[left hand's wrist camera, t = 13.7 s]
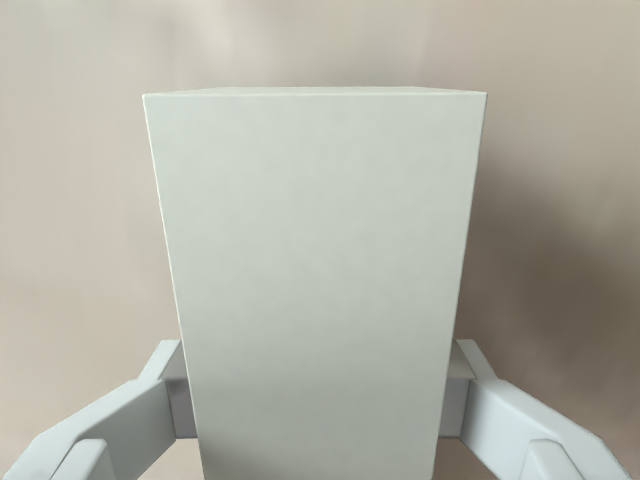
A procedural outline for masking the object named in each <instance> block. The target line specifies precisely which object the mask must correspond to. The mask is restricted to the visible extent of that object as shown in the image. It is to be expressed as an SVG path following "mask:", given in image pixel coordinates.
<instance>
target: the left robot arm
mask: <svg viewBox="0 0 640 480" xmlns="http://www.w3.org/2000/svg"><path fill="white" fill-rule="evenodd" d="M185 438H198V436H197V430H196V424H195V418H194V411H193V405H192V399H191V393H190V387H189V381H188V374H187V368H186V362H185V356H184V350H183V344H182V339H164V340H162V341H161V342H160V343H159V345H158V347H157V348H156V350H155V351H154V353H153V355H152V356H151V358H150V359H149V361H148V363H147V364H146V366H145V367H144V369H143V371H142V372H141V374H140V375H139V377H138V379H131V380H130V381H128V382H126V383H125V384H123V385H121V386H120V387H118V388H116V389H115V390H113V391H111V392H110V393H108V394H106V395H105V396H103V397H101V398H100V399H98V400H96V401H95V402H93V403H91V404H90V405H88V406H86V407H85V408H83V409H81V410H80V411H78V412H76V413H75V414H73V415H71V416H70V417H68V418H66V419H65V420H63V421H61V422H60V423H58V424H56V425H55V426H53V427H51V428H50V429H48V430H46V431H45V432H43V433H41V434H40V435H38V436H36V437H35V438H34V439H33V441H32V442H31V443H30V444H29V446H28V447H27V448H26V449H25V451H24V452H23V453H22V454H21V456H20V457H19V458H18V459H17V460H16V462H15V463H14V464H13V465H12V467H11V468H10V469H9V470H8V472H7V473H6V474H5V475H4V476H3V478H2V479H1V480H137V479H138V478H139V477H140V476H141V475H142V474H143V473H144V472H145V471H146V470H147V469H148V468H149V467H150V466H151V465H152V464H153V463H154V462H155V461H156V460H157V459H158V458H159V457H160V456H161V455H162V454H163V453H164V452H165V451H166V450H167V449H168V448H169V447H170V446H171V445H172V444H173V443H174V442H175V441H176V439H185ZM438 438H451V439H461V440H460V441H461V442H462V443H463V444H464V445H465V446H466V447H467V448H468V449H469V450H470V451H471V452H472V453H473V454H474V455H475V456H476V457H477V458H478V459H479V460H480V461H481V462H482V463H483V464H484V465H485V466H486V467H487V468H488V469H489V470H490V471H491V472H492V473H493V474H494V475H495V476H496V477H497V478H498V479H499V480H633V478H632V477H631V476H630V475H629V473H628V472H627V471H626V470H625V468H624V467H623V466H622V464H621V463H620V462H619V461H618V459H617V458H616V457H615V456H614V454H613V453H612V452H611V451H610V449H609V448H608V447H607V446H606V444H605V443H604V442H603V440H602V439H601V438H600V437H598V436H597V435H595V434H593V433H592V432H590V431H588V430H587V429H585V428H584V427H582V426H580V425H579V424H577V423H575V422H574V421H572V420H570V419H569V418H567V417H565V416H564V415H562V414H561V413H559V412H557V411H556V410H554V409H552V408H551V407H549V406H547V405H546V404H544V403H543V402H541V401H539V400H538V399H536V398H534V397H533V396H531V395H529V394H528V393H526V392H524V391H523V390H521V389H520V388H518V387H516V386H515V385H513V384H511V383H510V382H508V381H506V380H505V379H498V377H497V375H496V374H495V372H494V371H493V369H492V367H491V366H490V364H489V362H488V361H487V359H486V358H485V356H484V354H483V353H482V351H481V350H480V348H479V346H478V345H477V343H476V341H475V340H473V339H454V340H452V346H451V353H450V360H449V367H448V374H447V381H446V388H445V395H444V402H443V408H442V415H441V422H440V429H439V436H438Z"/></svg>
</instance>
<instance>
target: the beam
mask: <svg viewBox="0 0 640 480" xmlns="http://www.w3.org/2000/svg"><path fill="white" fill-rule="evenodd" d="M487 97H488V94H487V93H486V92H480V91H467V90H454V89H441V88H428V87H415V86H379V87H220V88H207V89H195V90H183V91H170V92H158V93H146V94H143V104H144V110H145V116H146V122H147V128H148V134H149V140H150V147H151V153H152V159H153V165H154V171H155V177H156V184H157V190H158V196H159V202H160V208H161V214H162V221H163V227H164V233H165V239H166V245H167V251H168V257H169V264H170V270H171V276H172V282H173V288H174V294H175V301H176V307H177V313H178V319H179V325H180V331H181V337H182V344H183V350H184V356H185V362H186V368H187V374H188V381H189V387H190V393H191V399H192V405H193V411H194V418H195V424H196V430H197V436H198V442H199V448H200V454H201V461H202V467H203V473H204V479H205V480H432V478H433V471H434V464H435V457H436V450H437V443H438V436H439V429H440V422H441V415H442V408H443V402H444V395H445V388H446V381H447V374H448V367H449V360H450V353H451V346H452V339H453V332H454V325H455V319H456V312H457V305H458V298H459V291H460V284H461V277H462V270H463V263H464V256H465V249H466V243H467V236H468V229H469V222H470V215H471V208H472V201H473V194H474V187H475V180H476V173H477V167H478V160H479V153H480V146H481V139H482V132H483V125H484V118H485V111H486V104H487Z"/></svg>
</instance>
